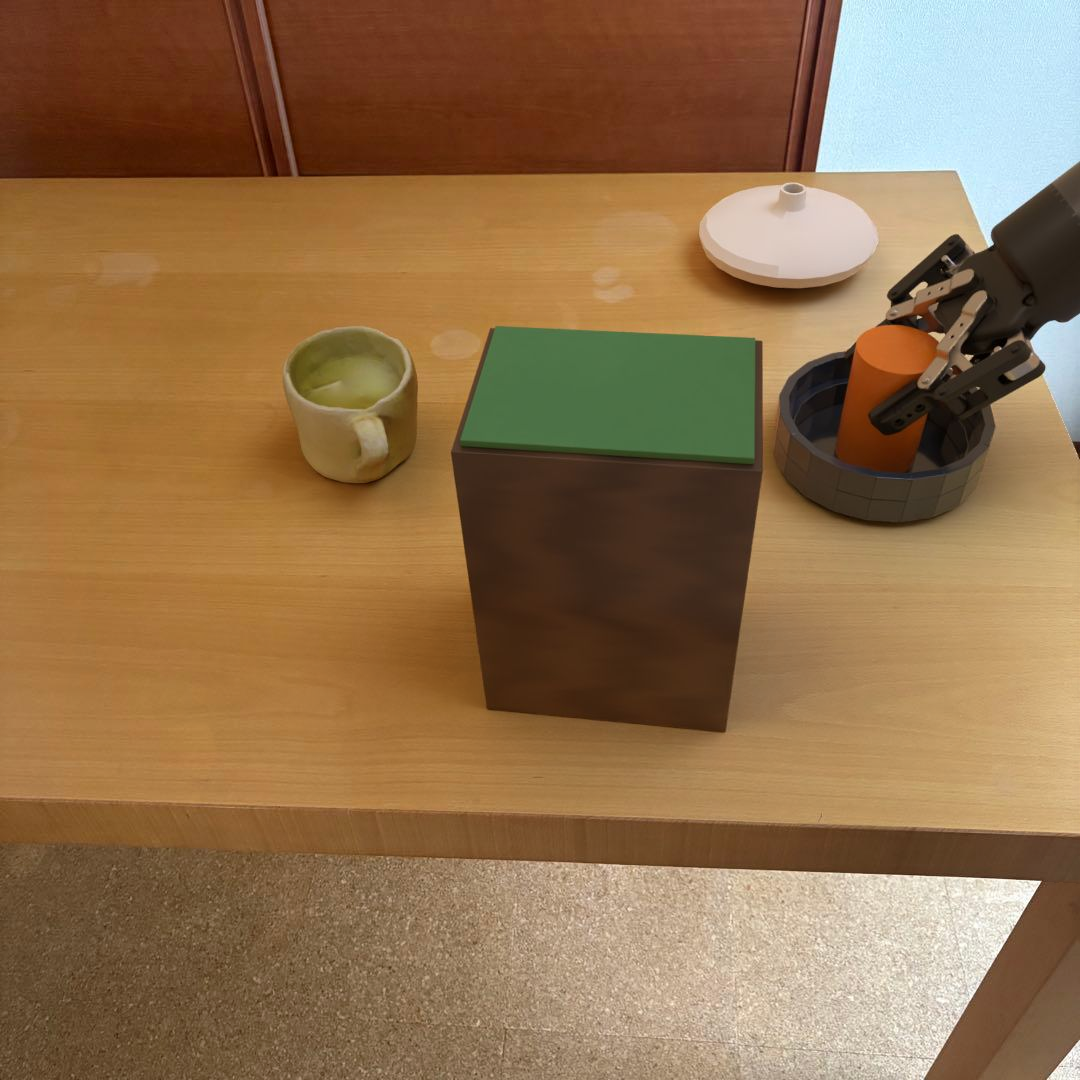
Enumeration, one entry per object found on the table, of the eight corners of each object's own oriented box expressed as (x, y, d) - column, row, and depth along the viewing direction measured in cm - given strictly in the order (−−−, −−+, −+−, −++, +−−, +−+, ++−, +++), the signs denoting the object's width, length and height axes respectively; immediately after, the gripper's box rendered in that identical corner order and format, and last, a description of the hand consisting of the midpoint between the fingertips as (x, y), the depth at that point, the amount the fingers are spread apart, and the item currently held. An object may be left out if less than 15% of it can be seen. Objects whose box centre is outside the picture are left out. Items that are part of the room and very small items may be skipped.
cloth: (754, 344, 52) (755, 337, 52) (753, 465, 46) (754, 457, 45) (496, 332, 54) (495, 325, 54) (460, 446, 48) (459, 439, 47)
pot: (963, 403, 80) (978, 354, 76) (992, 535, 70) (1010, 485, 66) (771, 392, 81) (778, 344, 78) (773, 520, 72) (780, 471, 68)
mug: (274, 394, 81) (287, 300, 73) (403, 408, 84) (430, 319, 76) (271, 523, 74) (286, 433, 67) (412, 532, 77) (442, 448, 70)
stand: (729, 602, 67) (762, 340, 52) (725, 732, 60) (763, 471, 45) (514, 584, 68) (489, 327, 54) (486, 709, 62) (450, 451, 47)
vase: (768, 329, 88) (778, 254, 83) (663, 249, 97) (666, 177, 92) (910, 274, 93) (928, 200, 88) (796, 202, 102) (806, 132, 97)
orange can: (910, 430, 77) (938, 326, 70) (918, 480, 73) (949, 376, 66) (833, 425, 77) (853, 322, 71) (836, 475, 74) (858, 371, 67)
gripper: (1021, 135, 66) (808, 306, 75) (1115, 251, 56) (856, 434, 64) (1078, 208, 70) (869, 363, 78) (1176, 330, 60) (924, 492, 68)
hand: (864, 394), depth 71 cm, fingers open, 6 cm apart
